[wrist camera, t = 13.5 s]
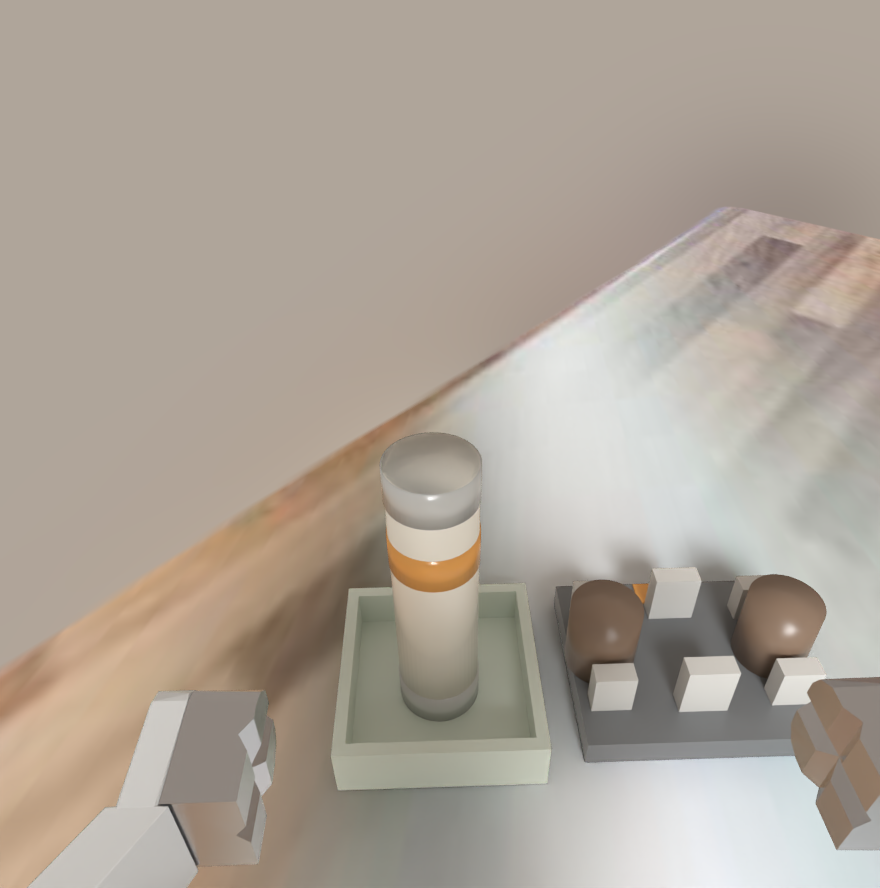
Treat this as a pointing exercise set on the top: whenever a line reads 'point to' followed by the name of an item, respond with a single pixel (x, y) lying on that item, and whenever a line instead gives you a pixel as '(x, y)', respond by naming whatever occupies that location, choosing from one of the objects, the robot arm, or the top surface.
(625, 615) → the cylinder
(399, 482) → the marked fuse
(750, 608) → the cylinder
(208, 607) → the top surface
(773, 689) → the panel
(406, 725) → the tray
